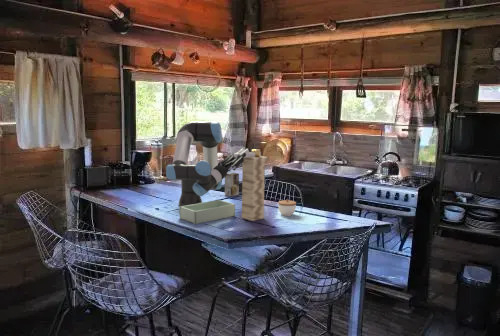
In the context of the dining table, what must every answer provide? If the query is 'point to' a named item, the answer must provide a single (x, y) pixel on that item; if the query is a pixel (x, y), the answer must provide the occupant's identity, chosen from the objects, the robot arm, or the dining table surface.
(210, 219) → the bin
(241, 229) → the dining table surface
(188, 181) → the robot arm
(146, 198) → the dining table surface
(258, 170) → the stand
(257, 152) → the strut
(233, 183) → the coffee box
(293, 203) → the lidded jar
